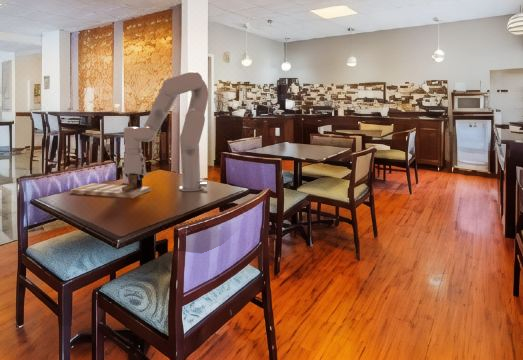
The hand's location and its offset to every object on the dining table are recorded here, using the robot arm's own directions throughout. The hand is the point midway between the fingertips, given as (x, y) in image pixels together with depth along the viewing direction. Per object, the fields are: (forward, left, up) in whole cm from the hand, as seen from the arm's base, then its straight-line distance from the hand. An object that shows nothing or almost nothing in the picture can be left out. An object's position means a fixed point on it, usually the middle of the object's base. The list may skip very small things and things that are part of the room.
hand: (135, 186), depth 196 cm
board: (+12, +4, -3) cm, 13 cm away
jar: (+16, -19, -3) cm, 25 cm away
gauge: (0, +3, 0) cm, 4 cm away
